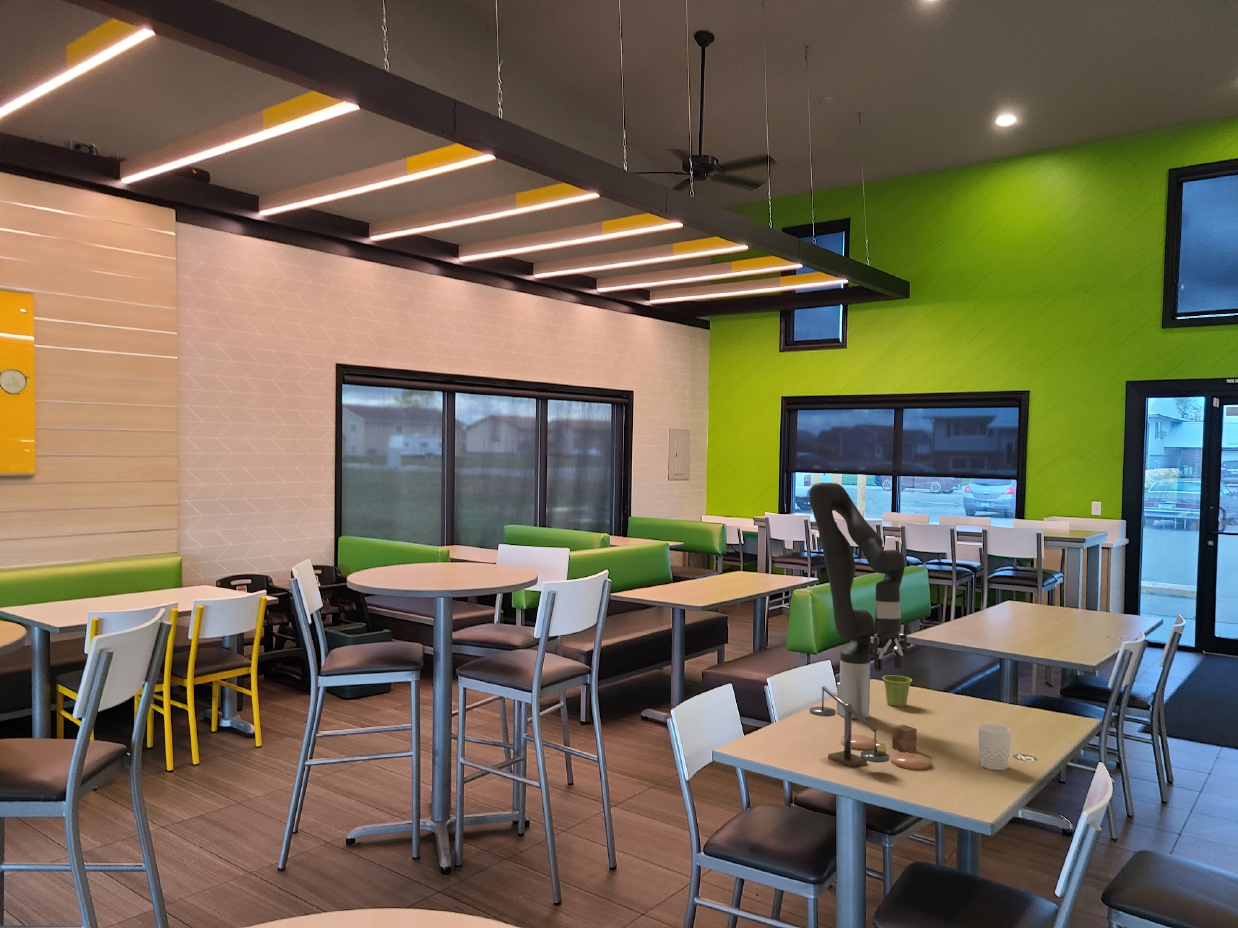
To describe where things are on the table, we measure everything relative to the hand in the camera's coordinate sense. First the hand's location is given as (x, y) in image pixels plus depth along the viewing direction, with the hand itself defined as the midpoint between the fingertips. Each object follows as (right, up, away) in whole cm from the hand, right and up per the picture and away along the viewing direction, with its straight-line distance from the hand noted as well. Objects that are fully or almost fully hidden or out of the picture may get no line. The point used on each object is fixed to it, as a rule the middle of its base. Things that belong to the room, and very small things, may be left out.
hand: (888, 669), depth 265 cm
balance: (-21, -16, -34) cm, 43 cm away
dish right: (-5, -17, -34) cm, 38 cm away
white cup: (+17, -18, -35) cm, 43 cm away
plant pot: (+11, -18, +26) cm, 33 cm away
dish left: (-14, -17, -19) cm, 29 cm away
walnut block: (-2, -17, -22) cm, 28 cm away
